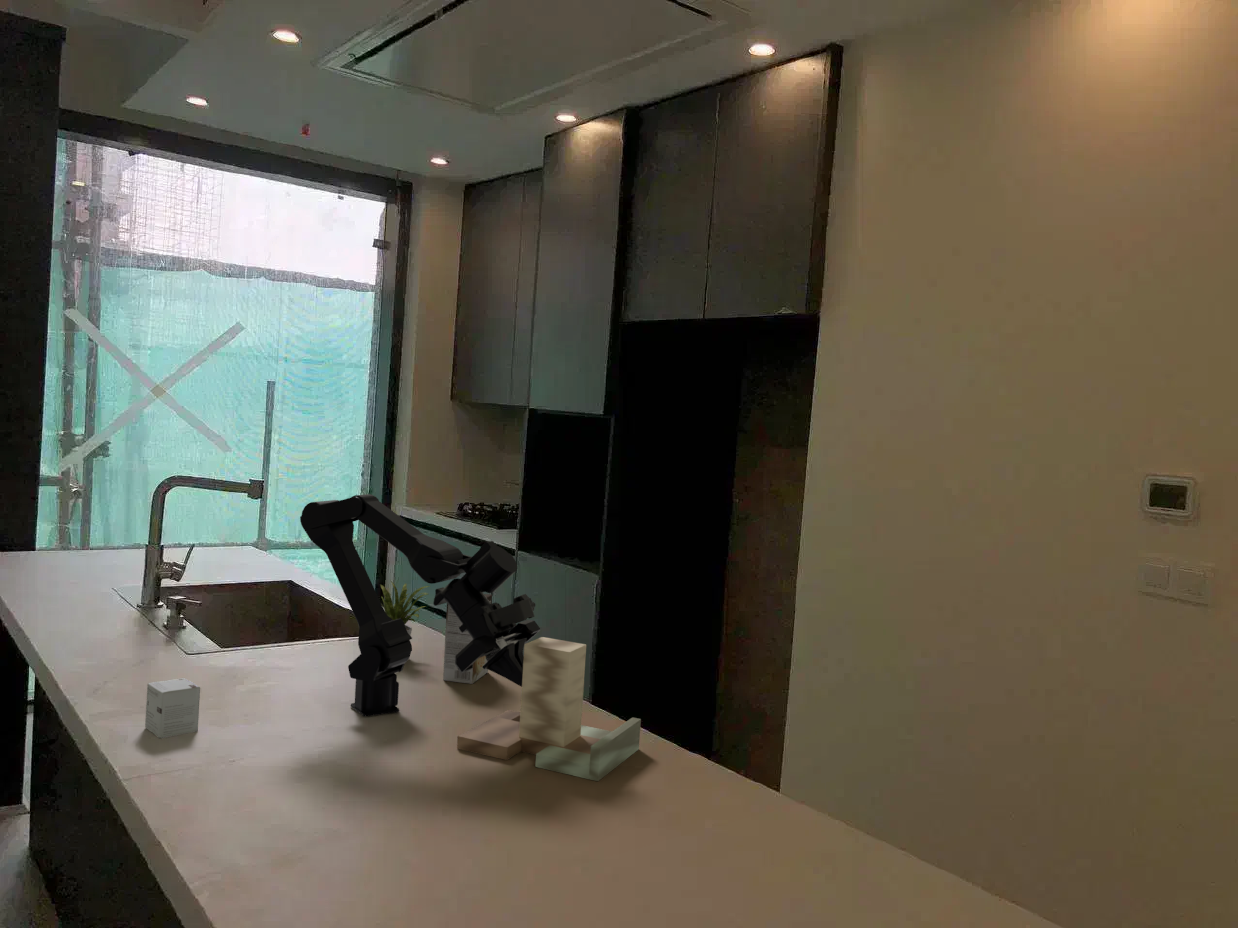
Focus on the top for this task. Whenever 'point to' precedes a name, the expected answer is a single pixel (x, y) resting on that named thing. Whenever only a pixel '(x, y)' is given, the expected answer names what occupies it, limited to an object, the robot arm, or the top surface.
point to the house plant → (401, 605)
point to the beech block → (552, 691)
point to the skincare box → (172, 707)
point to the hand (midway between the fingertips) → (529, 686)
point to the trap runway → (578, 758)
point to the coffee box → (454, 645)
